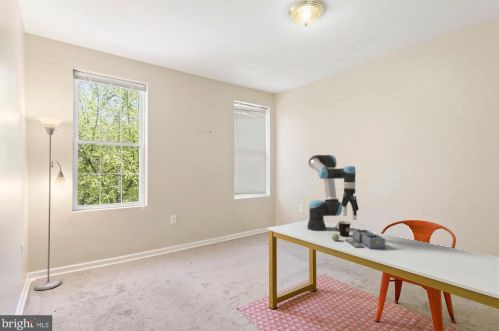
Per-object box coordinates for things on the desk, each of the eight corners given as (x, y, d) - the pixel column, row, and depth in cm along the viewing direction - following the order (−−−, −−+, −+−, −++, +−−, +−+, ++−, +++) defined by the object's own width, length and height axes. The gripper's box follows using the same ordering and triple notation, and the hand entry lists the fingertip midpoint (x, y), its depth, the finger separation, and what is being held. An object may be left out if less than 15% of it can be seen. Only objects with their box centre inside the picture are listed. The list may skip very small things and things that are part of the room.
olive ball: (330, 239, 182) (330, 232, 182) (337, 239, 182) (337, 232, 182) (333, 241, 177) (333, 234, 177) (340, 241, 177) (340, 234, 177)
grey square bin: (352, 238, 183) (352, 230, 183) (366, 238, 184) (366, 229, 184) (359, 243, 173) (359, 233, 173) (373, 243, 174) (373, 233, 174)
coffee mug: (348, 234, 196) (348, 221, 196) (351, 237, 187) (351, 223, 187) (333, 233, 197) (333, 221, 197) (335, 237, 189) (335, 223, 188)
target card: (345, 240, 180) (345, 239, 180) (353, 240, 180) (353, 238, 180) (355, 247, 164) (355, 246, 164) (364, 247, 164) (364, 246, 164)
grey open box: (362, 244, 172) (362, 234, 171) (376, 243, 172) (376, 234, 172) (370, 249, 161) (370, 239, 161) (385, 248, 162) (385, 238, 162)
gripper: (336, 186, 191) (336, 214, 192) (353, 190, 166) (353, 222, 167) (346, 186, 192) (346, 213, 192) (364, 189, 167) (364, 221, 168)
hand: (349, 217), depth 180 cm, fingers open, 13 cm apart
